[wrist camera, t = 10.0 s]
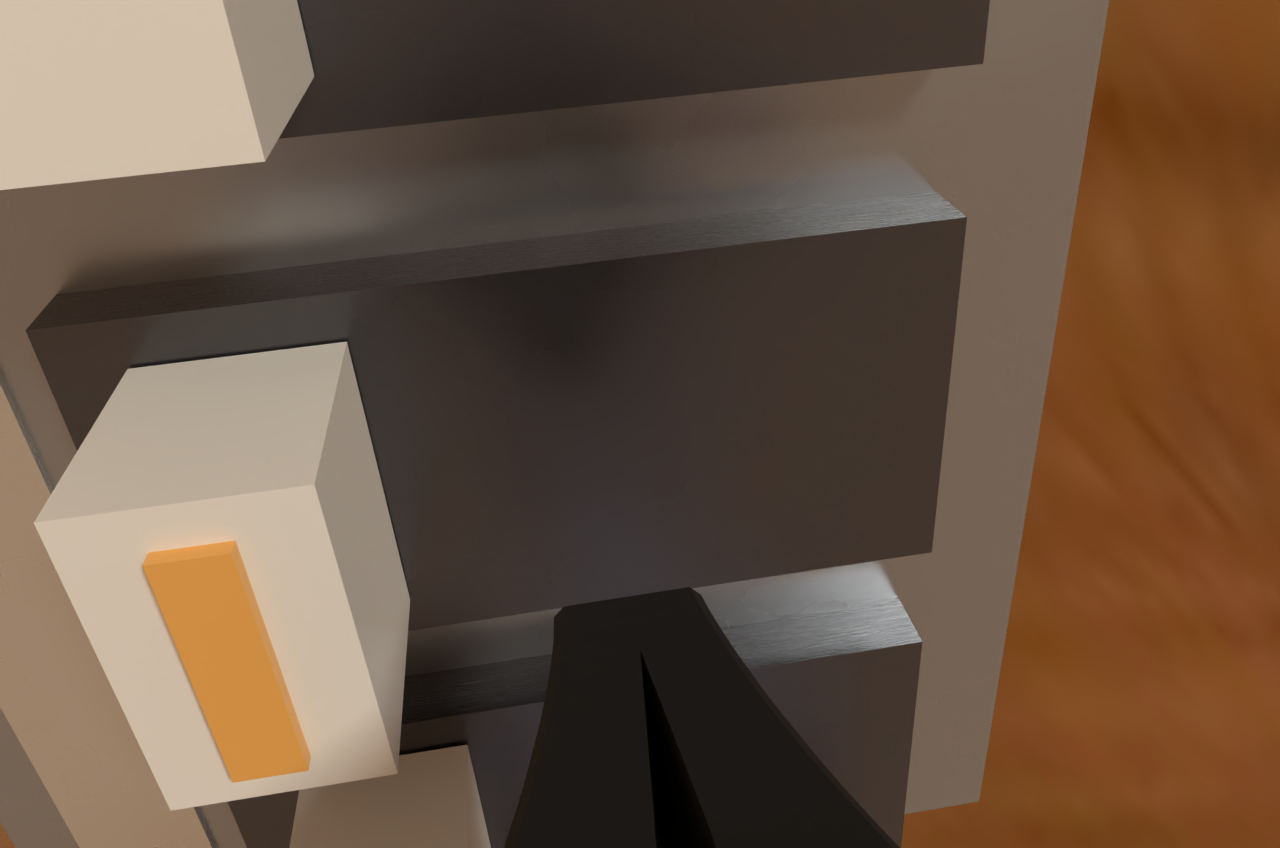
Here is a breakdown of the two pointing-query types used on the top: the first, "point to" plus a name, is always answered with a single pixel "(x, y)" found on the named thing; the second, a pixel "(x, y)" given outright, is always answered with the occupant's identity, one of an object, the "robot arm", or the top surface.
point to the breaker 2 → (397, 807)
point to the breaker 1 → (144, 85)
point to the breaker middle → (239, 573)
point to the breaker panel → (597, 362)
